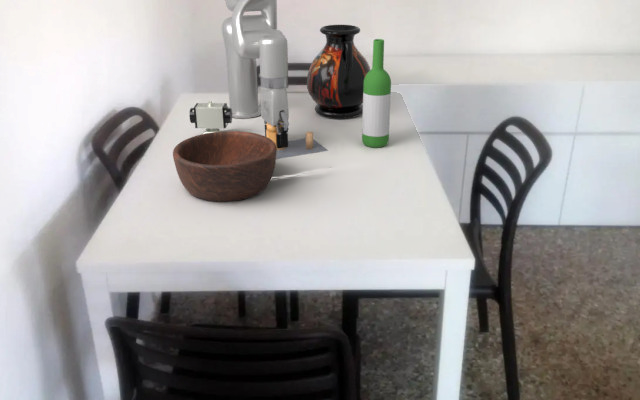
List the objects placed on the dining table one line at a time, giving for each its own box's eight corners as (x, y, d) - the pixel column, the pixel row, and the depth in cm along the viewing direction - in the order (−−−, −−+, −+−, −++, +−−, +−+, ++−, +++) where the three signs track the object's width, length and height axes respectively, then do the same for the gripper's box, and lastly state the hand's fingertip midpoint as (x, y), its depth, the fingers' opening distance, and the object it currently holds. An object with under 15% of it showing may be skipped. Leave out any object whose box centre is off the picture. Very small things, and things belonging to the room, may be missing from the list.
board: (253, 150, 182) (252, 131, 180) (311, 141, 189) (310, 122, 186) (267, 164, 172) (267, 144, 170) (328, 154, 179) (328, 135, 177)
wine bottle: (373, 150, 182) (377, 43, 169) (356, 143, 187) (358, 39, 175) (394, 144, 186) (399, 40, 173) (376, 137, 192) (380, 36, 179)
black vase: (299, 106, 221) (298, 23, 209) (358, 101, 227) (359, 20, 215) (318, 125, 202) (317, 35, 191) (381, 119, 208) (384, 31, 196)
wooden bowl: (180, 213, 146) (176, 171, 141) (173, 172, 168) (169, 135, 163) (287, 200, 152) (286, 160, 147) (267, 163, 174) (265, 126, 169)
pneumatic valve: (231, 143, 187) (229, 103, 182) (191, 143, 187) (188, 103, 182) (234, 137, 192) (231, 98, 187) (195, 137, 192) (192, 98, 187)
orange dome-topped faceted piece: (264, 145, 183) (263, 121, 180) (281, 142, 185) (281, 119, 182) (271, 150, 178) (270, 126, 175) (288, 148, 180) (287, 124, 177)
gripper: (250, 76, 179) (253, 135, 187) (272, 91, 165) (275, 154, 172) (275, 73, 182) (277, 131, 189) (299, 88, 168) (300, 150, 175)
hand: (276, 142), depth 181 cm, fingers open, 8 cm apart
